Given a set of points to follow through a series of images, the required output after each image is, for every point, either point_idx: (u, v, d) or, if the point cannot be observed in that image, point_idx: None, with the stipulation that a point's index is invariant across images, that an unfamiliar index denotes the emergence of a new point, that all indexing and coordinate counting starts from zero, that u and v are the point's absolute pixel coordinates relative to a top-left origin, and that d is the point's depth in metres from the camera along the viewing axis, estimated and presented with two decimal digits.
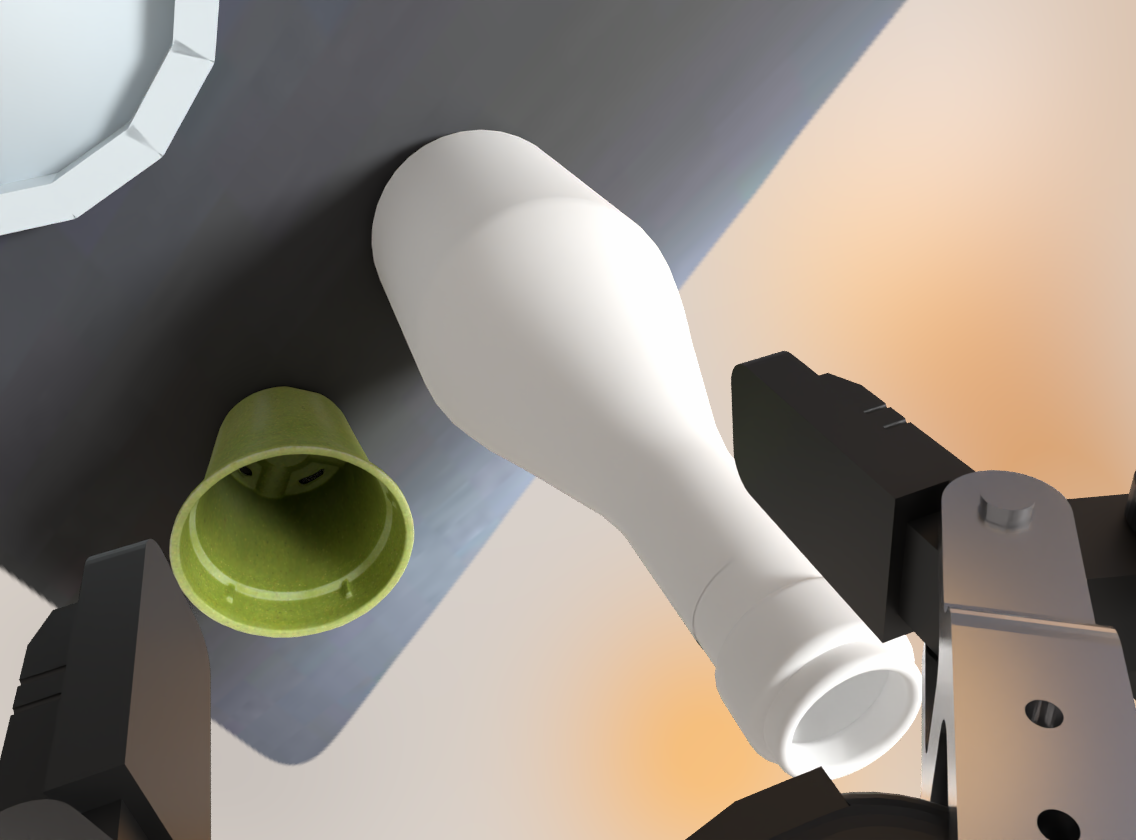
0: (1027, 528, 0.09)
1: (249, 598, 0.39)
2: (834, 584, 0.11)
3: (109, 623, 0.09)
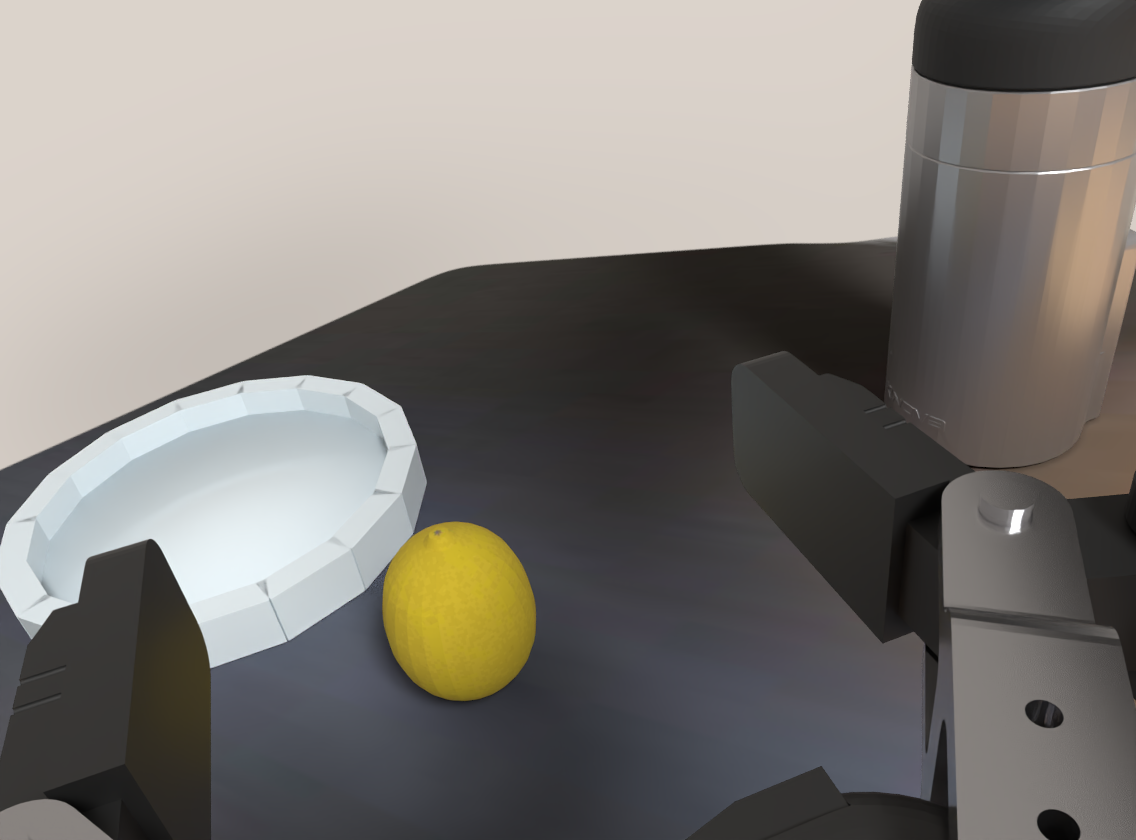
0: (1027, 528, 0.09)
1: None
2: (835, 583, 0.11)
3: (110, 623, 0.09)
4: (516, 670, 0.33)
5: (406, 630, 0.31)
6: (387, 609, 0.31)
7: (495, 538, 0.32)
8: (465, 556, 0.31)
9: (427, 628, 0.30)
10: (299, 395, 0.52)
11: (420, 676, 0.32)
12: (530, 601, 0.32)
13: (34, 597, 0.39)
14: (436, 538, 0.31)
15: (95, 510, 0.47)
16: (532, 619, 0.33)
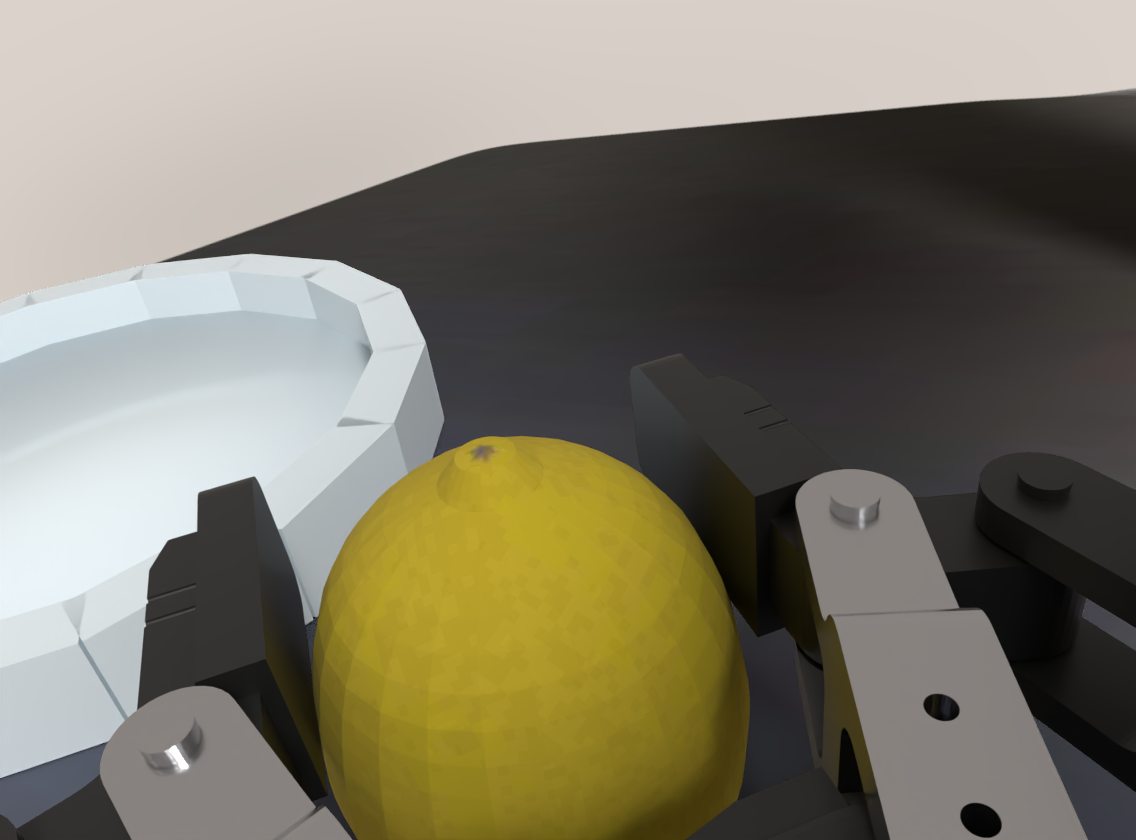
0: (870, 524, 0.09)
1: None
2: None
3: (230, 546, 0.10)
4: None
5: (378, 765, 0.09)
6: (322, 692, 0.10)
7: (648, 482, 0.11)
8: (571, 526, 0.09)
9: (445, 767, 0.09)
10: (232, 283, 0.31)
11: None
12: (745, 669, 0.11)
13: None
14: (478, 467, 0.10)
15: None
16: (748, 721, 0.11)
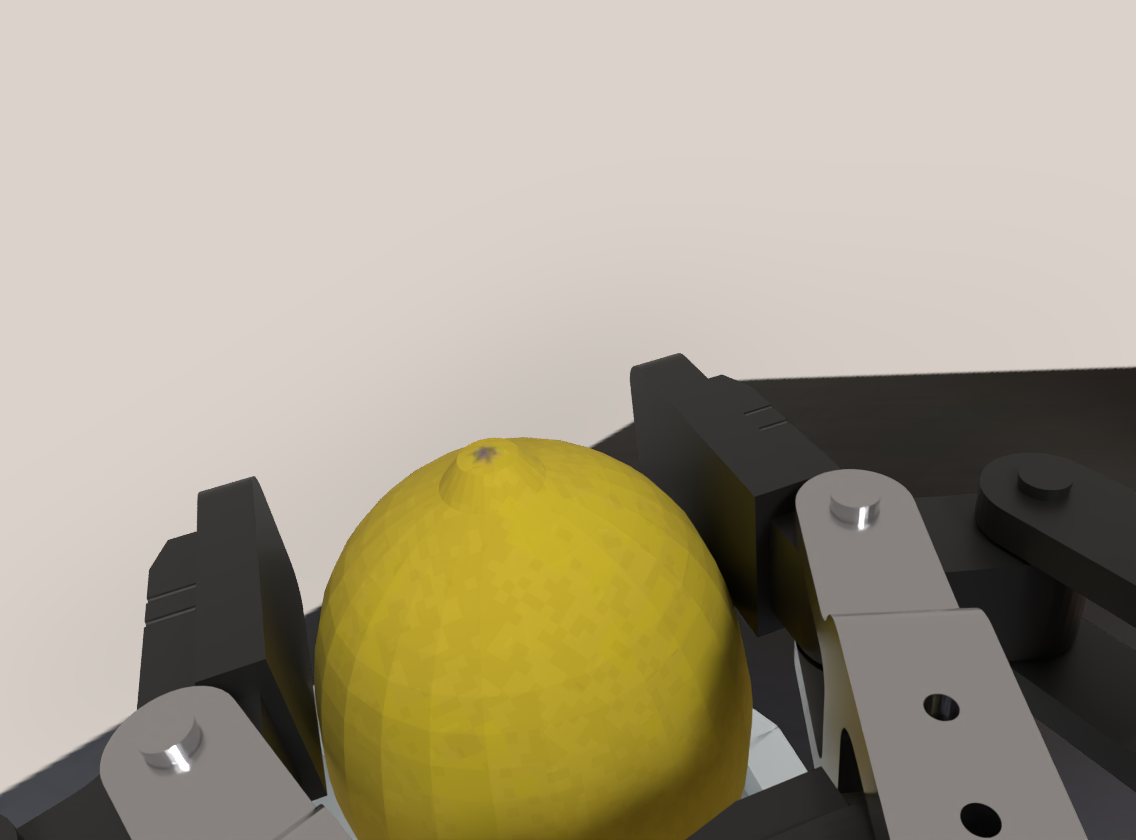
0: (870, 525, 0.09)
1: None
2: None
3: (230, 545, 0.10)
4: None
5: (380, 768, 0.09)
6: (323, 695, 0.10)
7: (651, 484, 0.11)
8: (574, 528, 0.09)
9: (446, 771, 0.09)
10: None
11: None
12: (748, 671, 0.11)
13: None
14: (480, 469, 0.10)
15: None
16: (751, 723, 0.11)
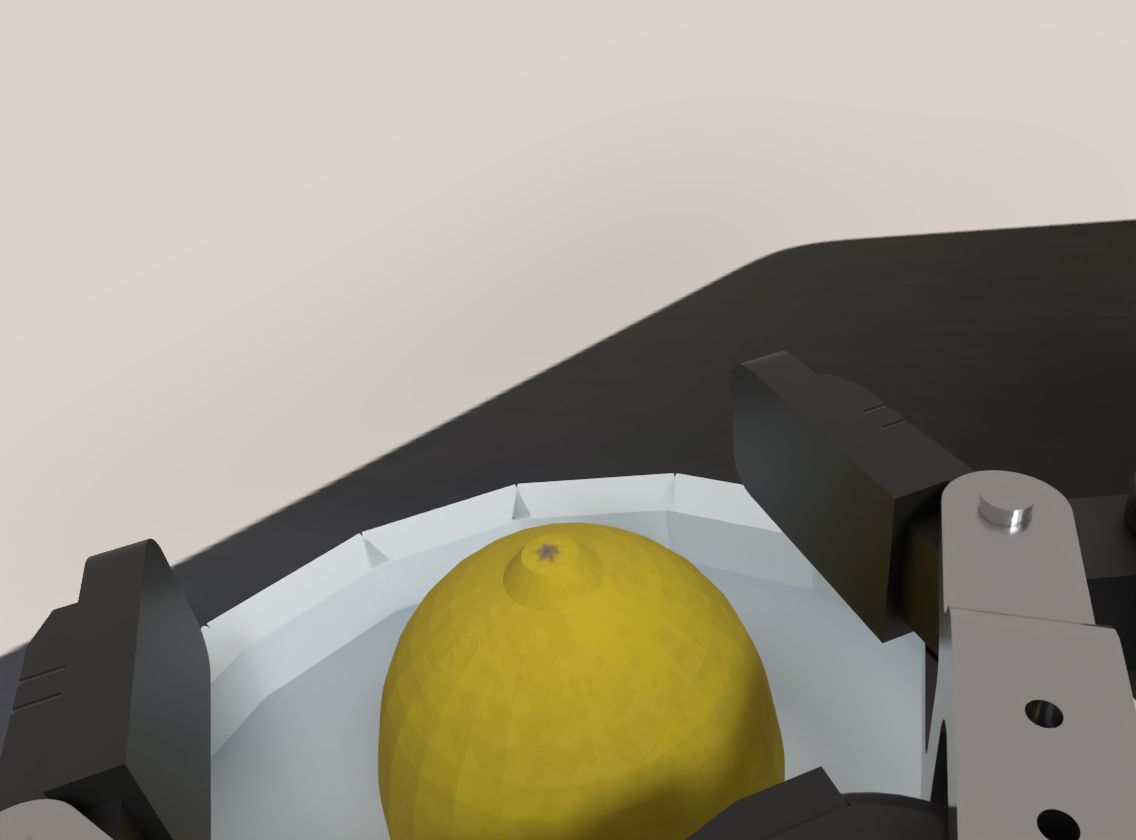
0: (1027, 528, 0.09)
1: None
2: (834, 583, 0.11)
3: (110, 623, 0.09)
4: None
5: None
6: (392, 773, 0.11)
7: (694, 570, 0.12)
8: (632, 625, 0.10)
9: None
10: (669, 526, 0.21)
11: None
12: (782, 744, 0.12)
13: None
14: (545, 569, 0.10)
15: None
16: None
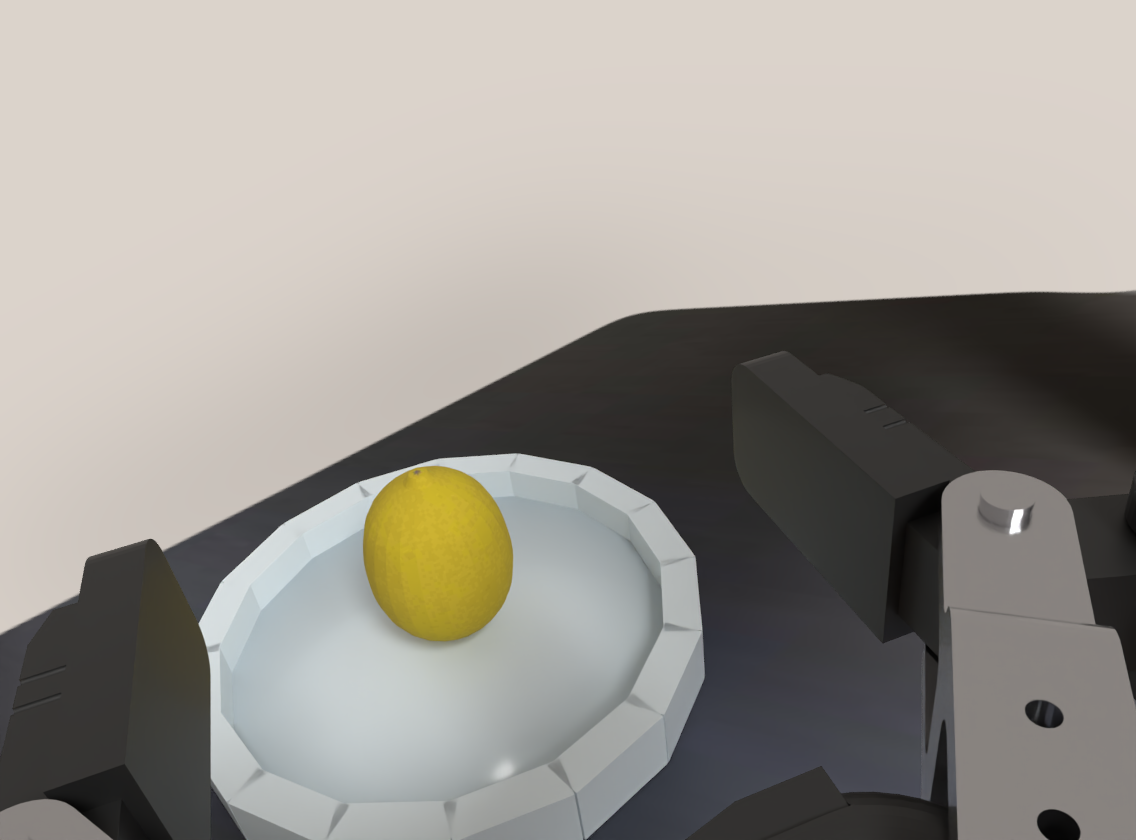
0: (1027, 528, 0.09)
1: None
2: (834, 583, 0.11)
3: (109, 623, 0.09)
4: (493, 611, 0.33)
5: (385, 566, 0.31)
6: (367, 547, 0.32)
7: (473, 481, 0.33)
8: (443, 494, 0.32)
9: (405, 564, 0.31)
10: (511, 479, 0.43)
11: (398, 614, 0.32)
12: (507, 543, 0.33)
13: (244, 772, 0.30)
14: (415, 477, 0.32)
15: (282, 629, 0.37)
16: (509, 561, 0.33)
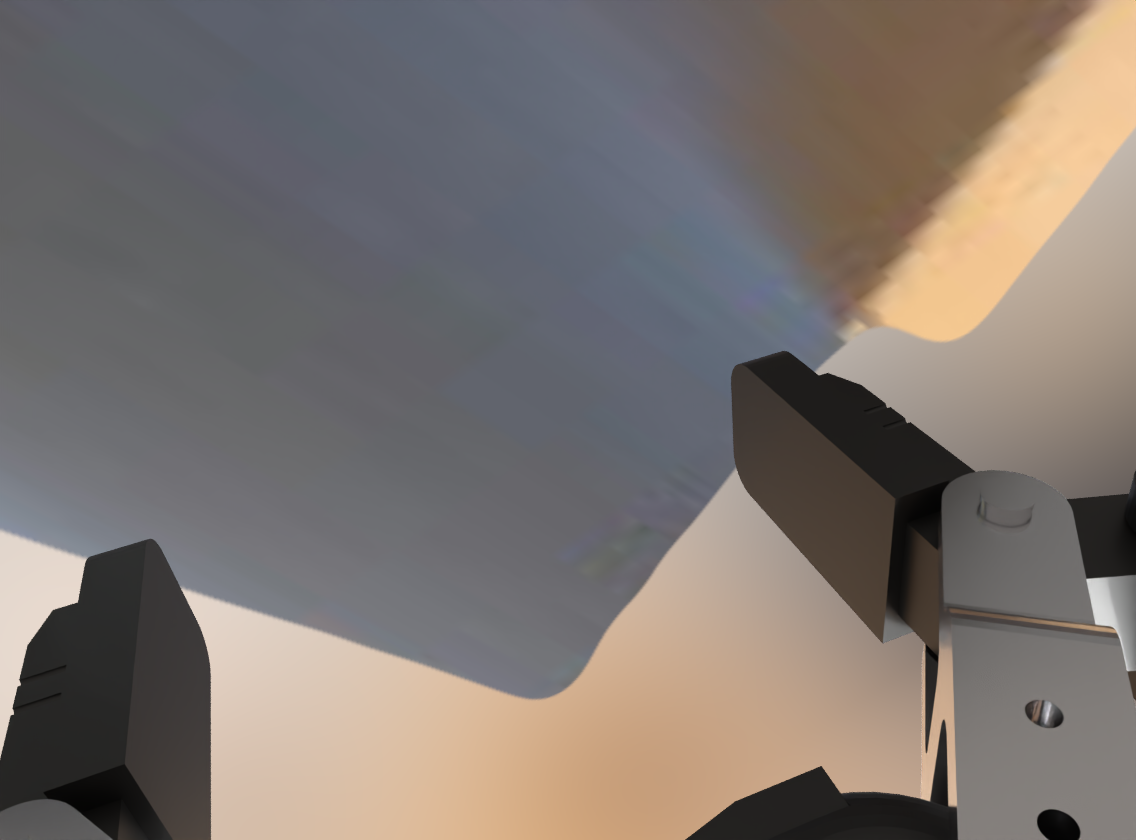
0: (1027, 528, 0.09)
1: None
2: (835, 583, 0.11)
3: (109, 623, 0.09)
4: None
5: None
6: None
7: None
8: None
9: None
10: None
11: None
12: None
13: None
14: None
15: None
16: None
